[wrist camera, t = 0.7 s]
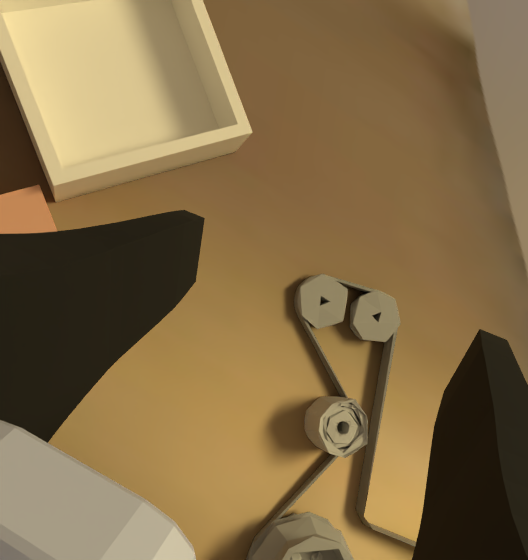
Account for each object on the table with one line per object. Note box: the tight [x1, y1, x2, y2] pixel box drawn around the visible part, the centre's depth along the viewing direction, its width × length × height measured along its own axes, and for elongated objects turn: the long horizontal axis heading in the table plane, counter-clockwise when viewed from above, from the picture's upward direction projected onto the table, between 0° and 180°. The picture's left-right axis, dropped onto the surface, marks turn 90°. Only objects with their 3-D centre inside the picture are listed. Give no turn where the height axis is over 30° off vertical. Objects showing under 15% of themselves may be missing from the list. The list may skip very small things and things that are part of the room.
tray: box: [0, 0, 252, 202], centre depth 25 cm, size 10×10×3 cm
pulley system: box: [246, 274, 416, 560], centre depth 28 cm, size 27×5×15 cm
